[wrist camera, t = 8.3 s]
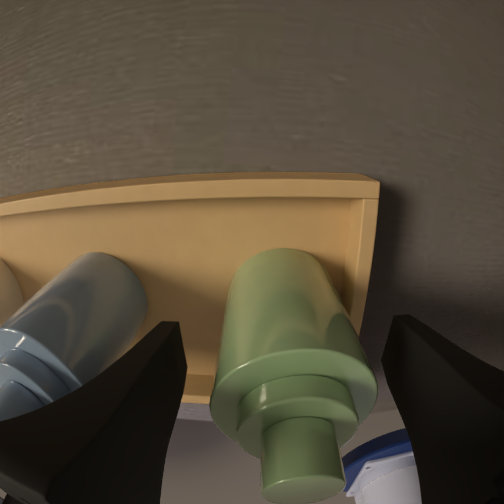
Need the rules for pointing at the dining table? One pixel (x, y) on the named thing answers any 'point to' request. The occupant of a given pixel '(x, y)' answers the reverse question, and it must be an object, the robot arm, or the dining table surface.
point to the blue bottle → (69, 332)
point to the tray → (196, 241)
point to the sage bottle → (290, 375)
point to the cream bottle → (8, 293)
